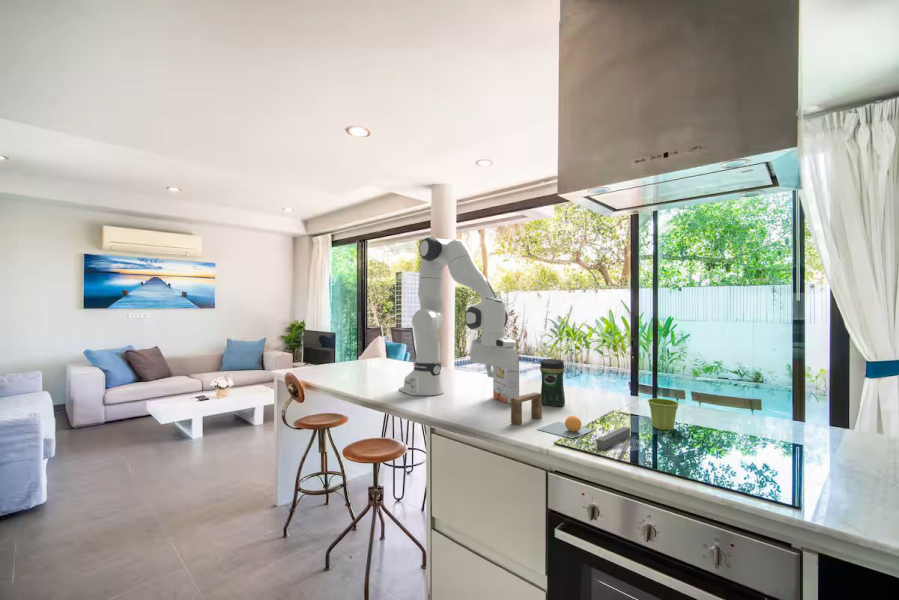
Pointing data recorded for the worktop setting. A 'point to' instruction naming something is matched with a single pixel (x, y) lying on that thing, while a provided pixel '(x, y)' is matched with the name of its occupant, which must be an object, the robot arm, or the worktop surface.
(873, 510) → the worktop surface
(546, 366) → the coffee jar
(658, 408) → the plant pot
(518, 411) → the bridge
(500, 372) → the cracker box
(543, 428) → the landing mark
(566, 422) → the ball
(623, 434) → the wall
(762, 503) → the worktop surface
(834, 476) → the worktop surface
